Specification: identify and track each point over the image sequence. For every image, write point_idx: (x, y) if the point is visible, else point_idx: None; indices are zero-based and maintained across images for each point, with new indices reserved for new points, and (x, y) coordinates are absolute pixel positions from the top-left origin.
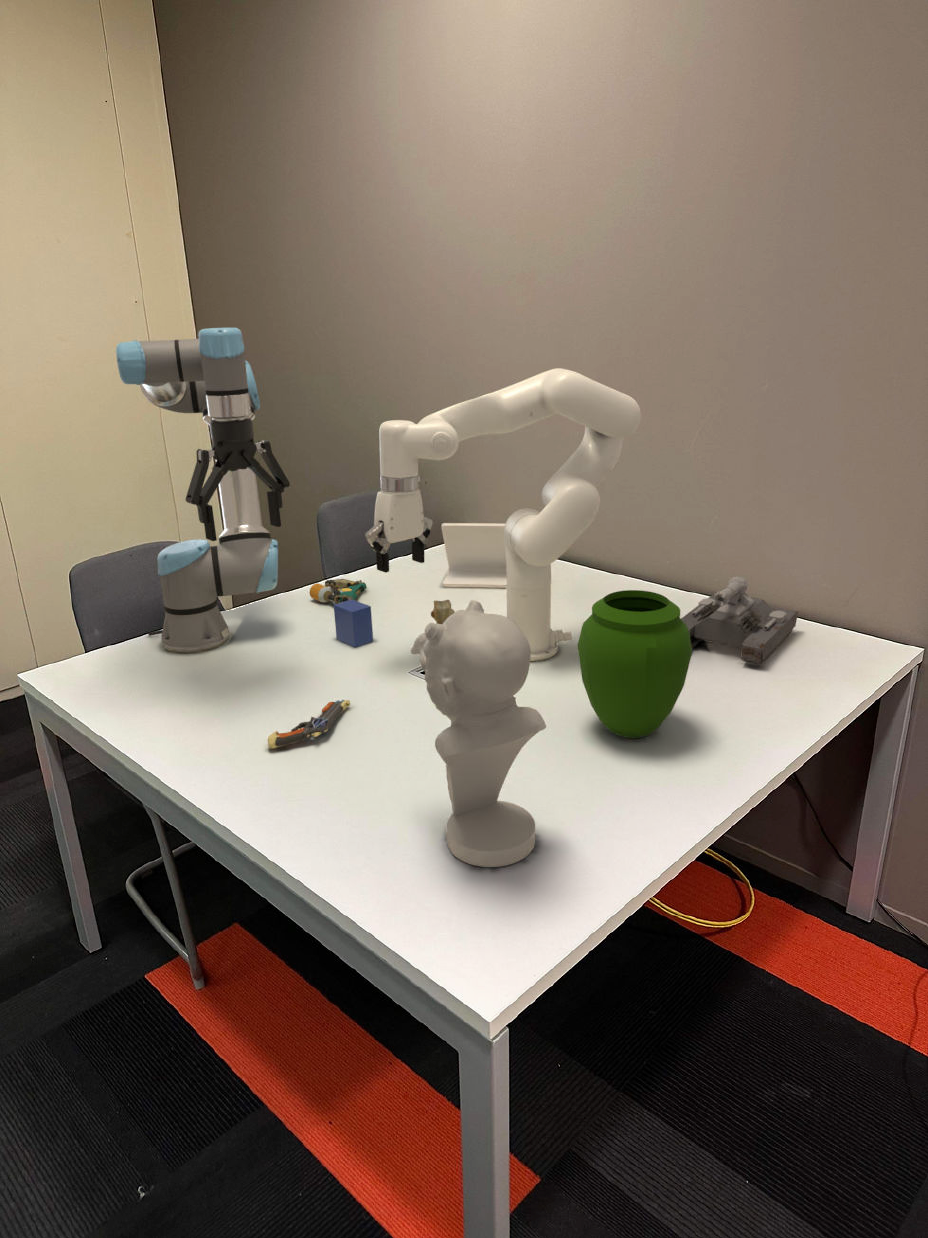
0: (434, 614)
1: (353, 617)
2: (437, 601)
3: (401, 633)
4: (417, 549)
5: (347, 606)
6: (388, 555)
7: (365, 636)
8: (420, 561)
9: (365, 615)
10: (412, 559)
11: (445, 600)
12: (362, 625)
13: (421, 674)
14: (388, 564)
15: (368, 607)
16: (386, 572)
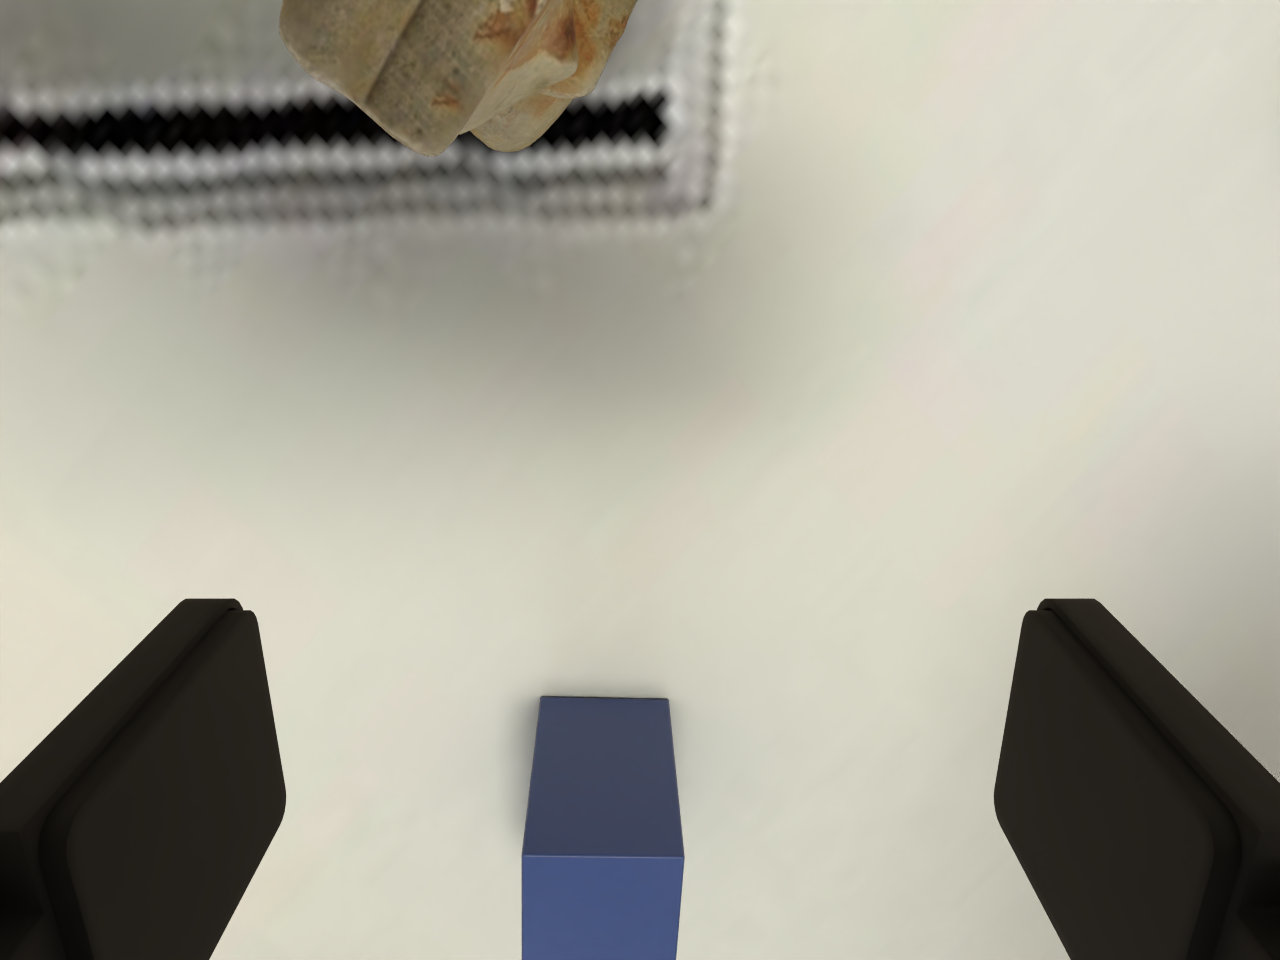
0: (572, 3)
1: (674, 827)
2: (455, 47)
3: (349, 673)
4: (158, 856)
5: (632, 946)
6: (1229, 793)
7: (591, 724)
8: (251, 635)
9: (576, 816)
10: (282, 808)
11: (336, 17)
12: (607, 774)
13: (676, 114)
14: (1120, 665)
15: (542, 853)
16: (1084, 602)
